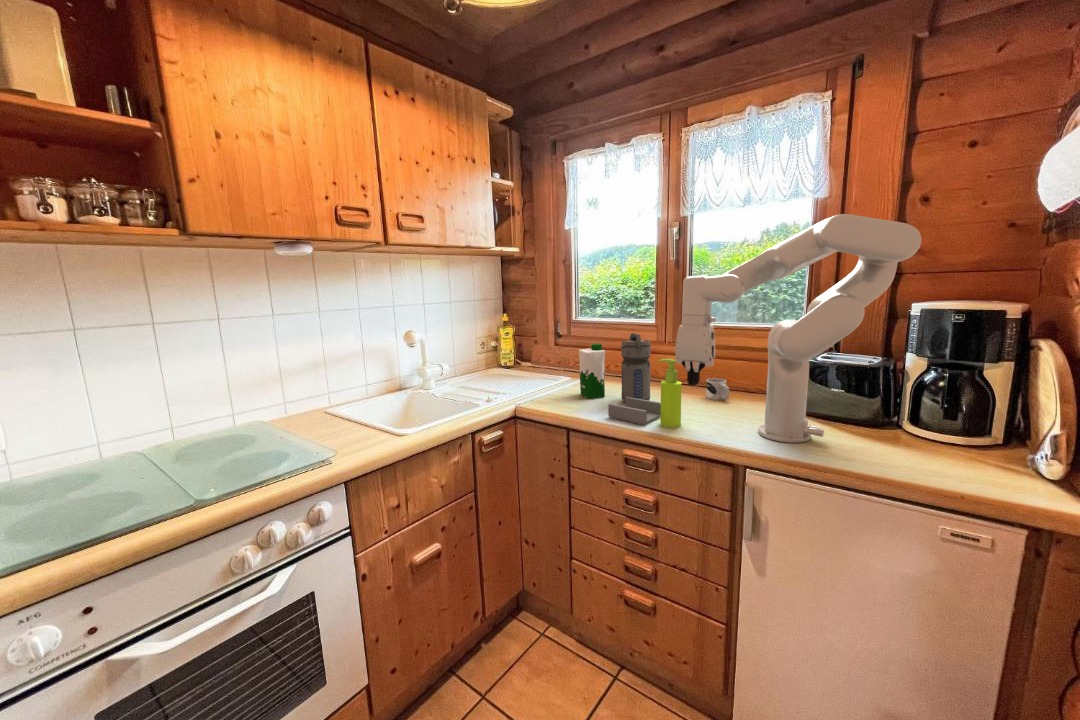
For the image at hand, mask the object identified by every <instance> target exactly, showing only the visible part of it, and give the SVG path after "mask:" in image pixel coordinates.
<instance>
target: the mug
mask: <svg viewBox="0 0 1080 720" xmlns="http://www.w3.org/2000/svg"><path fill="white" fill-rule="evenodd" d="M705 383H706V384H705V398H706V399H707V400H711V401H724V400H728V399H729V397H730V387H729V386H728V385H727V380H726V379H723V378H719V377H718V378H716V377H713V378H707V379H706V380H705Z"/></svg>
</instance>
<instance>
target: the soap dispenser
mask: <svg viewBox="0 0 1080 720" xmlns="http://www.w3.org/2000/svg"><path fill="white" fill-rule="evenodd" d="M675 360H676V359H672V358H662V359H658V360H657V362H658V363H661V362H665V363H668V369H667V370H665V376H664V378H665V380H661V381H660V402H661V417H660V421H659V422H660V425H661V426H662V427H665V428H679V427H681V425H682V420H681V419H682V384H683V383H682V382H681V381H680V380H678V370H677V369H675V364H676V363H677V362H675Z"/></svg>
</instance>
